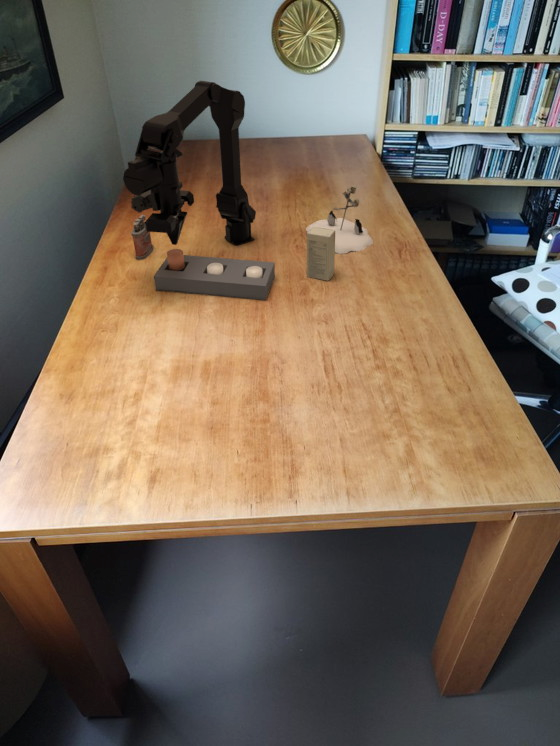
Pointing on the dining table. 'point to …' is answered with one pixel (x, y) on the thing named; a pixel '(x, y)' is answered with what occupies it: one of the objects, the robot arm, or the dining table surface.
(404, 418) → the dining table surface
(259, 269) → the button
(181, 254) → the terracotta button
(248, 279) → the button panel
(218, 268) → the button
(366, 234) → the figurine
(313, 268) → the skincare box
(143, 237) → the lighter
